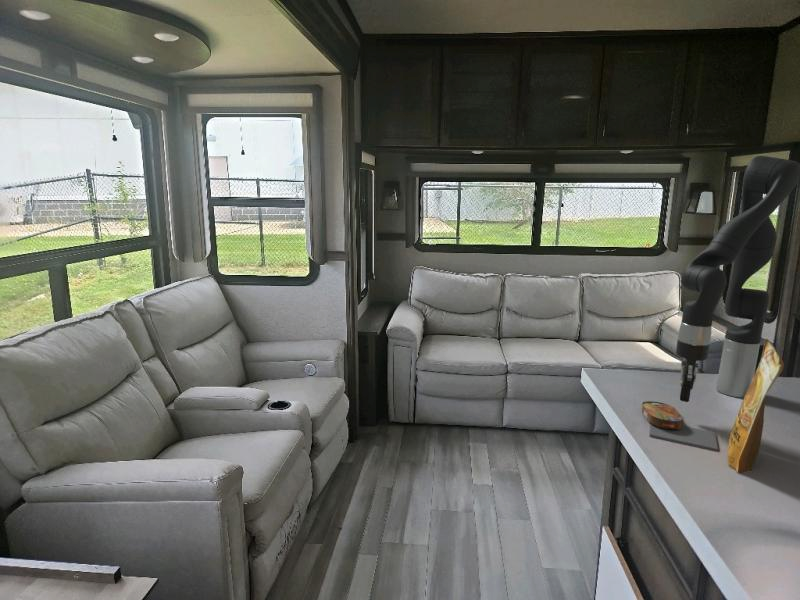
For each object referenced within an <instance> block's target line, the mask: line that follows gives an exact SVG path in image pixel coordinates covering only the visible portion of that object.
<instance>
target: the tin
mask: <svg viewBox="0 0 800 600" xmlns="http://www.w3.org/2000/svg"><path fill="white" fill-rule="evenodd" d="M641 413H642V415H643V416H644V417H645V418H646V420H647V421H648V423H649V424H652V425H655V426H657V427H661V428H669V429H680V428H681V427H682V426H683V422H684V417H683V415H681V413H680V412H679V411H678V410H677V409H676V408H675V407H674V406H672V405H670V404H667V403H665V402H661V401H660V402H659V401H654V400H651V401H650V400H649V401H647V400H646V401H643V402H642V405H641Z"/></svg>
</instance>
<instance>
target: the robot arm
mask: <svg viewBox="0 0 800 600" xmlns="http://www.w3.org/2000/svg"><path fill="white" fill-rule="evenodd" d="M799 180H800V163H799V162H798V161H795V160H791V159H787V158H779V157H776V156H775V157H774V156H768V155H757V156H754V157H753V158H752V159H750V161H749V162H748V164H747V166H746V168H745V171H744V174H743V180H742V188H741V189H742V191H741V192H742V193H741V194H742V195H741V210H740V214H738V215H736V216H734V217H733V218H731V219H729V220H728V221H726V223H724V224H723V225H722V226H721V227H720V228H719V230H718V231H717V233H716V234H714V237H713V238H712V240H711V241H710V243H708V246H707V247H706V248H705V249H704V250H703V251H701V252H700V253H699V254H698V255H697V256H696V257H694V258H693V259H692V260H691V261H690V262H689V263H688V264H687V265H686V267H684V270H683V271H682V274H681V277H680V278H681V283H682V284H681V285H682V286H683V287H684V288H685V289H686V290H689V291H693V292H697V293H699V295H698V297H697V299H696V300H695V299H692V300H691V299H690V300H688V301H686V302H685V303H684V305H683V309H682V310H683V311H682V317H681V323H680V326H679V329H678V335H677V342H676V349H675V355H676V356H678V357H679V358H681V359H684V360H681V362H680V380H681V382H680V393H679V400H680V401H681V402H685V403H688V402H690V397H691V391H692V390H693V389H694V383H695V382H696V378H697V374H698V372H699V363H697V362H699V361H701V362H703V361H706V360H707V359H708V356H709V350H710V344H711V339H712V338H711V337H712V328H713V327H712V324H713V320H714V314H715V310H716V308H717V306H718V305H719V303H720V300H721V297H722V296H723V294H724V292H725V290H726V287H727V276H726V273H725V272H724V270H723V269H720V268H718V267H720V266H725V265H727V266H728V265H730V264H732V271H731V274H730V275H731V276H730V280H729V284H728V289H727V293H726V296H725V297H726V298H725V302H724V312H725V314H726V315H727V316H728V317H732V318H739V319H743V320H751V321H750V322H748V323H746V324H744V325H740V326H739V325H738V326H732V327H729V328H726V330H725V334H724V339H723V340H724V341H723V346H722V352H721V358H720V363H719V364H720V365H719V370H718V375H717V381H716V387H715V390H716V391H717V392H719V393H721V394H723V395H726V396H729V397H734V398H741V399H742V398H743V399H744V397H745V395H746V393H747V390H748V388H749V386H750V384H751V382H752V380H753V377H754V375H755V373H756V369H757V368H756V367H757V362H758V357H759V352H760V351H759V350H760V346H761V340H762V334H763V329H764V326H765V325H764V324H765V320H766V315H767V313H768V310H769V306H770V305H769V304H770V294H769V292H768V291H767V290H762V289H756V288H755V289H754V288H746V287H744V285H745V283H746V282H747V281H748V280H749V279H750V278H751V277H752V276H753V275H755V274H756V273H757V272H759V271H760V270H761V269H763V268H764V267H765V266H766V265H767V264H768V263H770V261H771V260H772V258H773V256H774V254H775V253H774V252H775V248H776V244H777V243H776V242H777V230H776V228H775V225H774V223H773V222H772V219H771V218H770V216H771V215H772V214H773V213H774V211H775V210H776V209H777V208H778V207H779V206H780V205H781V204H782V203H783V202H784V201H785V199H787V197H788V196H789V195H790V194H791V192H792V191H793V190H794V188H796V186H797V184H798V183H799ZM764 195H765V196H764Z"/></svg>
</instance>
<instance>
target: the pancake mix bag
mask: <svg viewBox="0 0 800 600" xmlns="http://www.w3.org/2000/svg"><path fill="white" fill-rule="evenodd" d="M762 347H763V348H762V352H761V356H760V359H759V362H758V366H757V368H756V369H755V374H754V377H753V380H752V382H751V384H750V386H749V388H748V390H747V393H746V395H745V397H744V398H743V400H742V401H741V406H740V407H739V410H738V412H737V415H736V417H735V420H734V424H733V426H732V430H731V432H730V436H729V439H728V449H727V450H728V452H727V464H728V467H730V468H731V469H733V470H735V471H736V473H749V472H750V471H752V469H753V467H754V465H755V462H756V460H757V457H758V454H759V452H760V449H761V442H762V437H763V436H762V435H763V429H764V421H765V420H764V419H765V417H764V416H765V408H766V405H765V404H766V395H767V394H768V392H769V391H770V389H771V388H772V386H773V385H774V383H775V382H776V380H777V379H778V377H779V376H780V375H781V374H782V372H783V369H784V366H785V364H784V360H783V359H782V358H781V356H780V355H779V354H778V352H777V351H776V348H775V347H774V345H773V344H772V343H771V341H770V340H769V339H768V338H766V339H763V346H762Z"/></svg>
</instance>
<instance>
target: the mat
mask: <svg viewBox="0 0 800 600" xmlns="http://www.w3.org/2000/svg"><path fill="white" fill-rule="evenodd" d="M649 424H650V426H649V438H655V439H660V440H665V441H669V442H673V443H677V444H682V445H688V446H692V447H697V448H701V449H705V450H710V451H714V452H718V451H719V448H718V447H719V446H718V442H717V437H716V433H715V432H716V431H715V432H714V431H709V430H705V429H700V428H695V427H690V426H687V425H686V426H685V425H682V427H681V428H680V429H669V428H661V427H657V426H655V425H652V424H651V423H649Z"/></svg>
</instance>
